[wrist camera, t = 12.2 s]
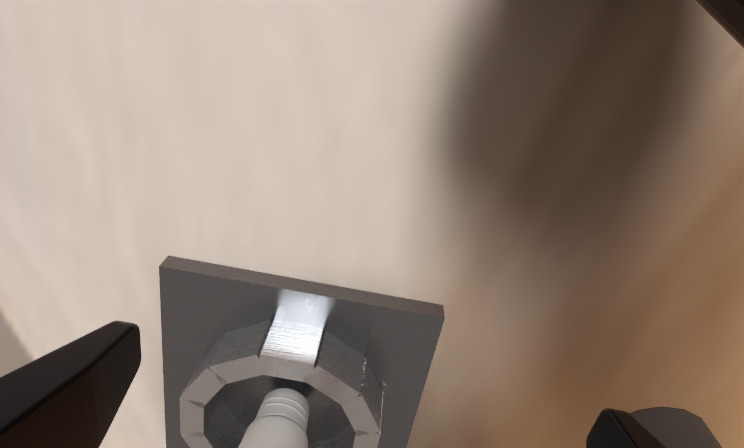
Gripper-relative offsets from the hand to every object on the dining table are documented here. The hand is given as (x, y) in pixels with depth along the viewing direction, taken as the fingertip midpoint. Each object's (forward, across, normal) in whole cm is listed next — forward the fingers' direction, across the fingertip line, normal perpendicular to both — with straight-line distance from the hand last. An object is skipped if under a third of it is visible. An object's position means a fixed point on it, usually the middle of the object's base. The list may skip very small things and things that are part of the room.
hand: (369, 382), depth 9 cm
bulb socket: (+13, +3, +14) cm, 19 cm away
